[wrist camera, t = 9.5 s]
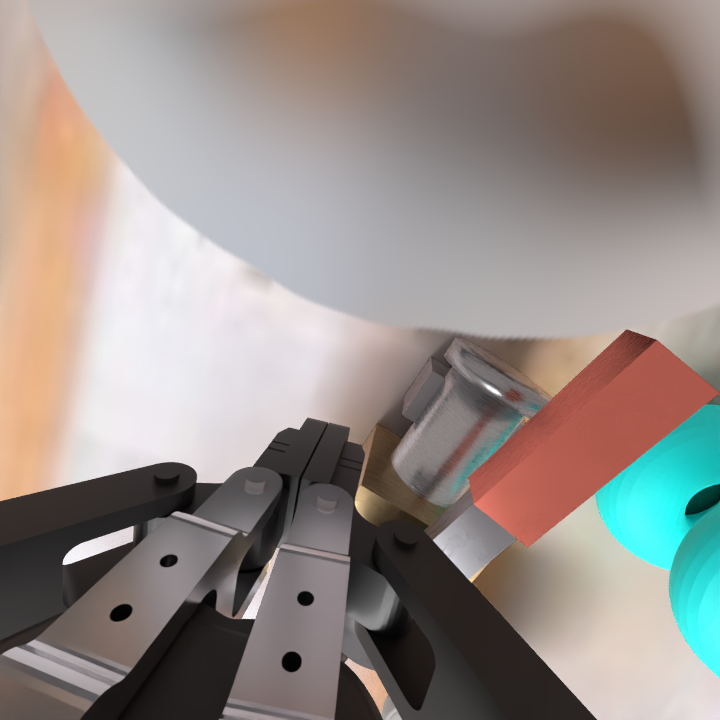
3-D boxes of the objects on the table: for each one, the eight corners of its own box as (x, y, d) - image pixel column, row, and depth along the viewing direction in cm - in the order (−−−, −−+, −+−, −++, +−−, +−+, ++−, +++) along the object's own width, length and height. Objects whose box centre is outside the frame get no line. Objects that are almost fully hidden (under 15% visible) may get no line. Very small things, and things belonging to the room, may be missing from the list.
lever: (392, 640, 19) (388, 688, 17) (321, 586, 19) (309, 628, 16) (696, 390, 14) (746, 413, 12) (604, 312, 14) (638, 322, 11)
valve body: (280, 571, 29) (233, 677, 22) (441, 324, 22) (452, 356, 15) (359, 618, 29) (339, 740, 22) (544, 385, 22) (605, 447, 15)
